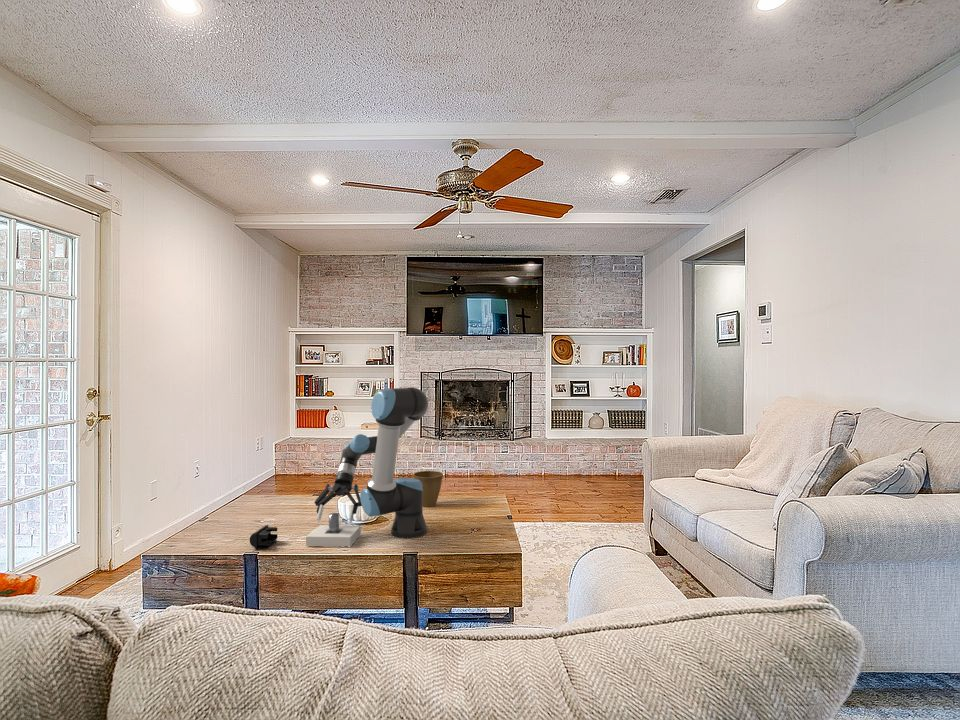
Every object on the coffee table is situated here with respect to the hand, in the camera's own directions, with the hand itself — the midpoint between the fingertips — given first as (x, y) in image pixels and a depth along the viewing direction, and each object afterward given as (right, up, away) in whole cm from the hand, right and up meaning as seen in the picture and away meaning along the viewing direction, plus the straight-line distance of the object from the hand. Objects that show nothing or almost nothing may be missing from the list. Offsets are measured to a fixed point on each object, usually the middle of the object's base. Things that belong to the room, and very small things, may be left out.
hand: (334, 520), depth 221 cm
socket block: (0, -8, -1) cm, 8 cm away
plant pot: (+34, -7, +49) cm, 61 cm away
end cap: (-27, -9, -5) cm, 29 cm away
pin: (0, -8, -1) cm, 8 cm away
